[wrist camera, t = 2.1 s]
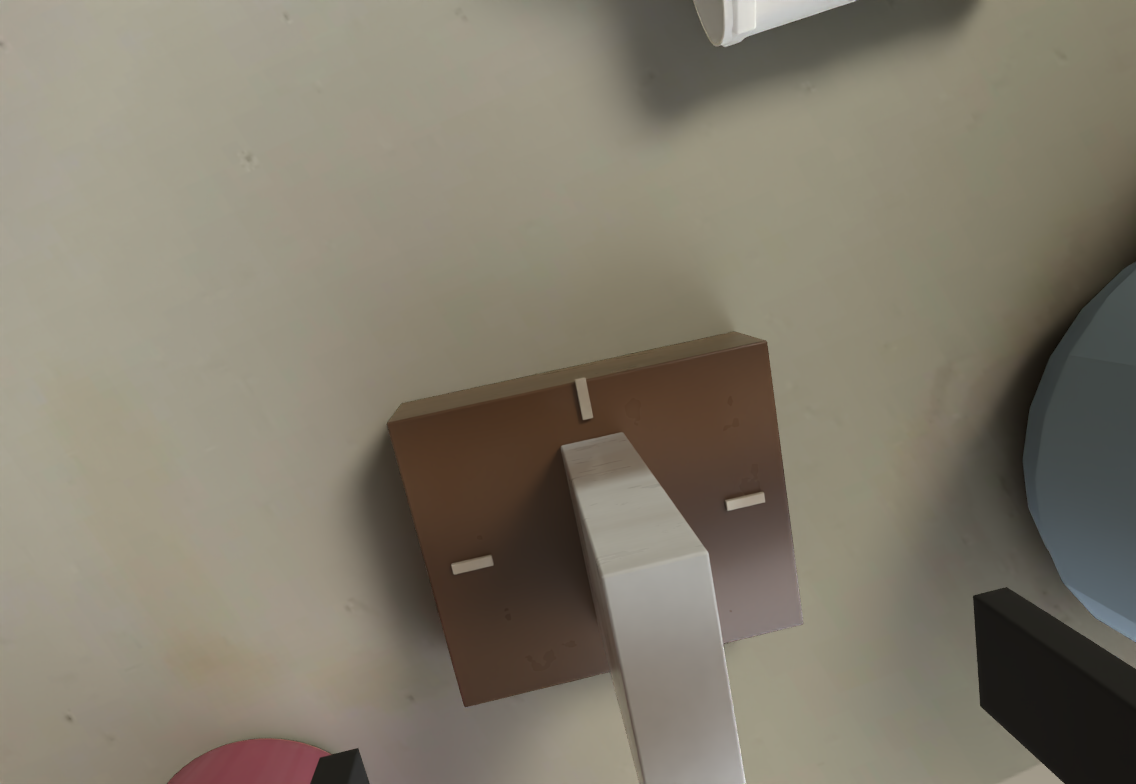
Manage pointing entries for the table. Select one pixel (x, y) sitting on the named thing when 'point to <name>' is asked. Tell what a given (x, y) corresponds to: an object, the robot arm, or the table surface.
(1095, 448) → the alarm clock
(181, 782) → the flower pot
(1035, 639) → the robot arm
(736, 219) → the table surface
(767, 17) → the white brass knuckles
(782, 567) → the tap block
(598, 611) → the red-tipped white block
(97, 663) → the table surface
